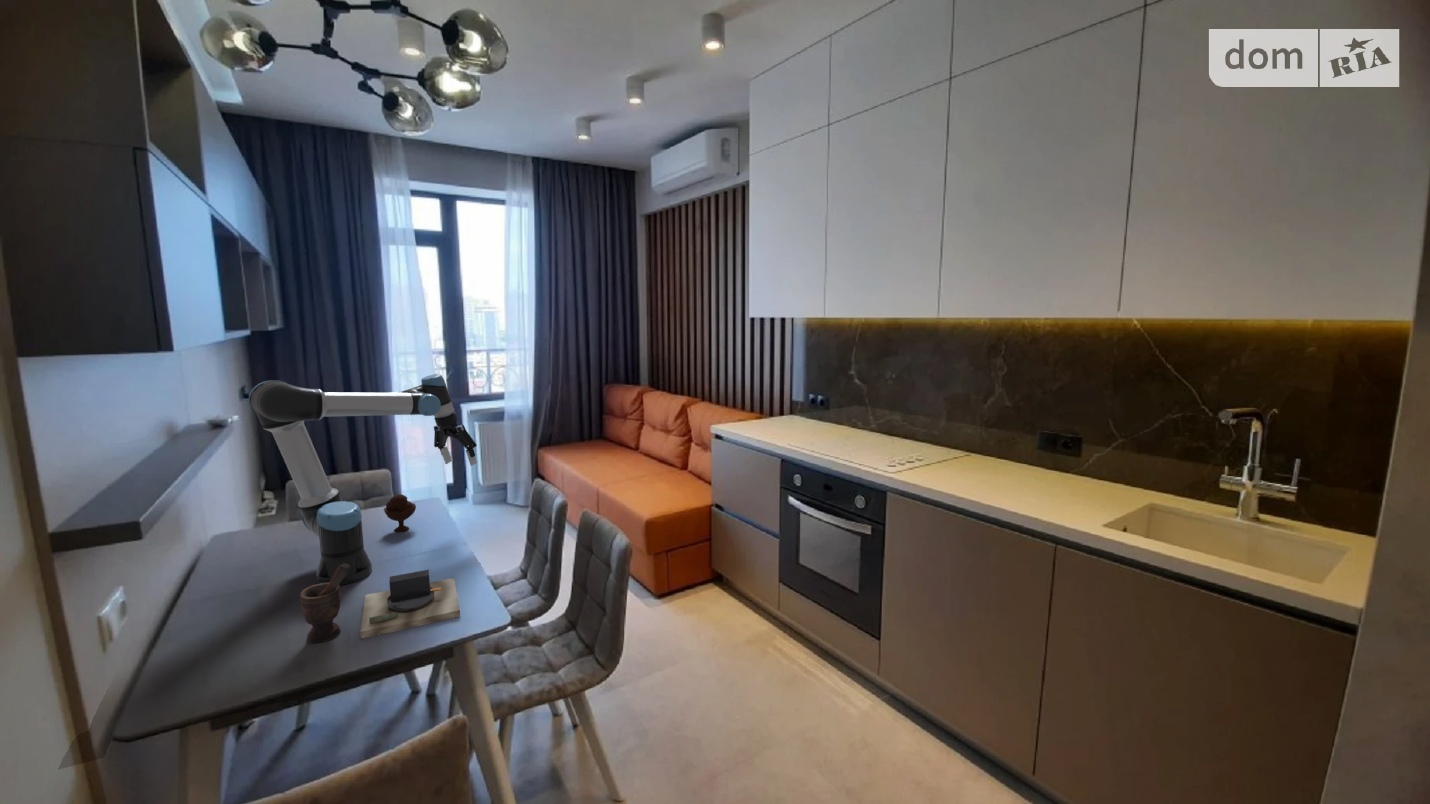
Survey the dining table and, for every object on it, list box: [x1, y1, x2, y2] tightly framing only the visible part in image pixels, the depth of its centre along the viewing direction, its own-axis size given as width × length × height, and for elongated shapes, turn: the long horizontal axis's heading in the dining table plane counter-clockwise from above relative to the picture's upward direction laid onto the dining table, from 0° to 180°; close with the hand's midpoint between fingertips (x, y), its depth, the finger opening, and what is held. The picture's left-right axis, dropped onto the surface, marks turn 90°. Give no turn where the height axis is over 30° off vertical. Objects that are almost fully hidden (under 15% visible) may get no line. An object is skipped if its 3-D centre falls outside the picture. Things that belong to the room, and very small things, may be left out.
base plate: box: [359, 577, 461, 639], centre depth 163 cm, size 24×22×4 cm
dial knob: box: [387, 569, 442, 613], centre depth 162 cm, size 14×12×8 cm
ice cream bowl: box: [383, 493, 417, 534], centre depth 219 cm, size 11×11×15 cm
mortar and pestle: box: [299, 563, 351, 644], centre depth 148 cm, size 12×9×20 cm
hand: (461, 463), depth 222 cm, fingers open, 13 cm apart
